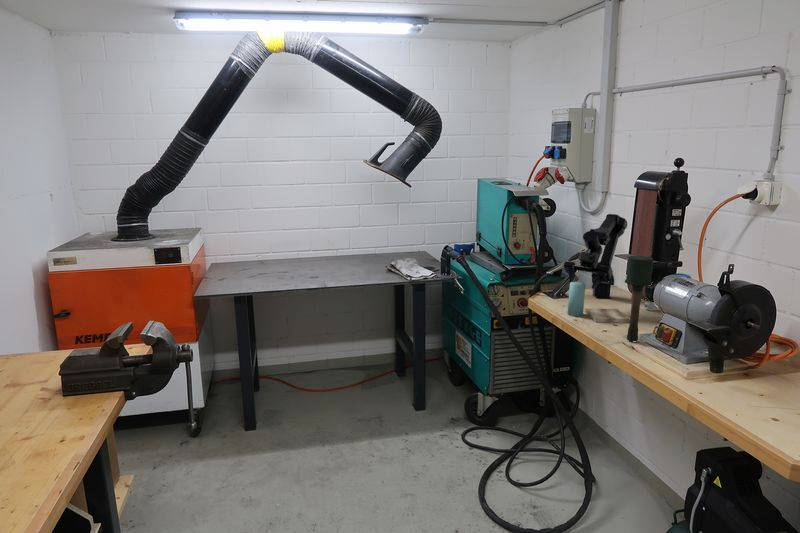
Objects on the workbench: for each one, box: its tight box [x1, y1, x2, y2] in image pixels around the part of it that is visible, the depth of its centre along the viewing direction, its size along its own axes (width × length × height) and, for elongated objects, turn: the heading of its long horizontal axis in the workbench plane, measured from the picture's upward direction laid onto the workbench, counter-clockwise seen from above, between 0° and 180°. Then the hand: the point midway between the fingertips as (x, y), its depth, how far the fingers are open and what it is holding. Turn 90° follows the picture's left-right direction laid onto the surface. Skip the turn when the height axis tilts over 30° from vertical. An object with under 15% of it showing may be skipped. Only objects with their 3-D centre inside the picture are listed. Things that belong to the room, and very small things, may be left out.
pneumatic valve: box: [641, 298, 658, 312], centre depth 222 cm, size 6×12×12 cm, turn 105°
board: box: [584, 308, 630, 323], centre depth 214 cm, size 13×13×2 cm
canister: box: [567, 281, 586, 318], centre depth 216 cm, size 6×6×13 cm
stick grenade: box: [624, 255, 654, 342], centre depth 185 cm, size 8×9×30 cm
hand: (581, 286), depth 218 cm, fingers open, 9 cm apart
